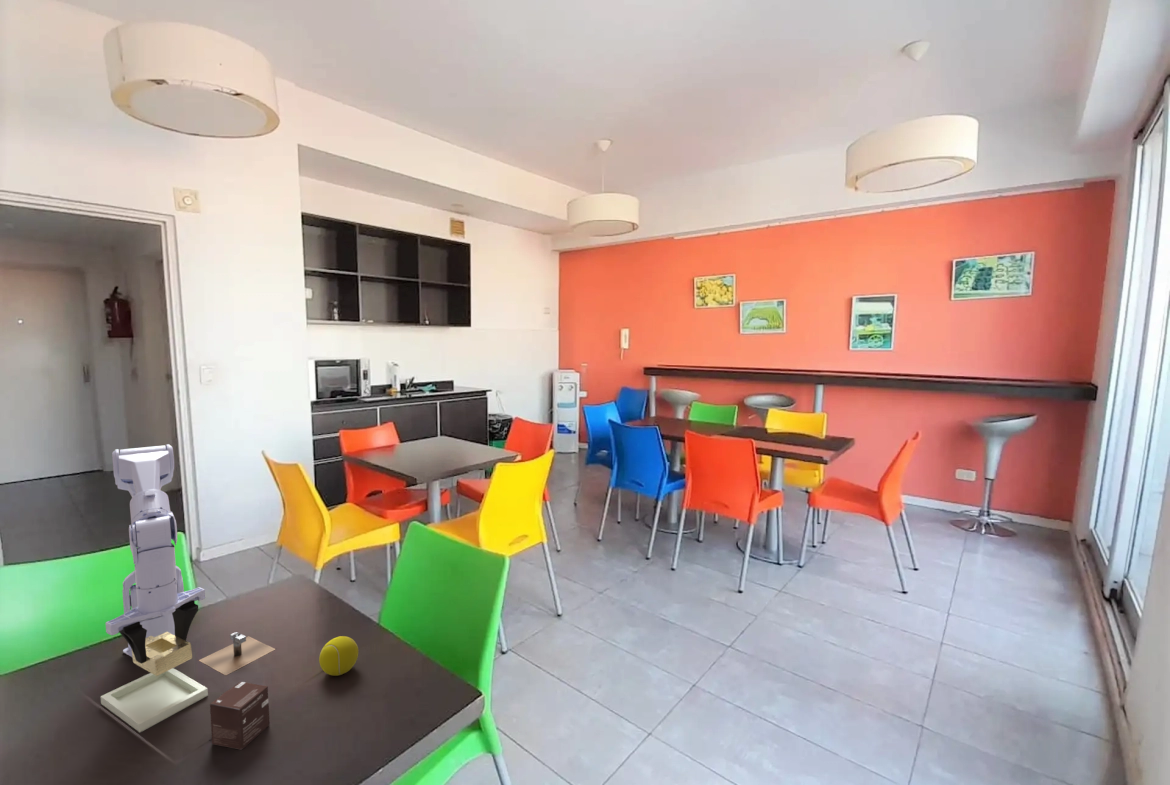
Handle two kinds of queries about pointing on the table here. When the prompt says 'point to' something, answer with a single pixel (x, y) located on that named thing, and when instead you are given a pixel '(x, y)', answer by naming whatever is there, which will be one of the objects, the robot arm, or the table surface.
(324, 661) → the tennis ball
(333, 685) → the table surface
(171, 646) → the gold hollow block
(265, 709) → the box
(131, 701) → the tray
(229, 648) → the stake base
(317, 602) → the table surface
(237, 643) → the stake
